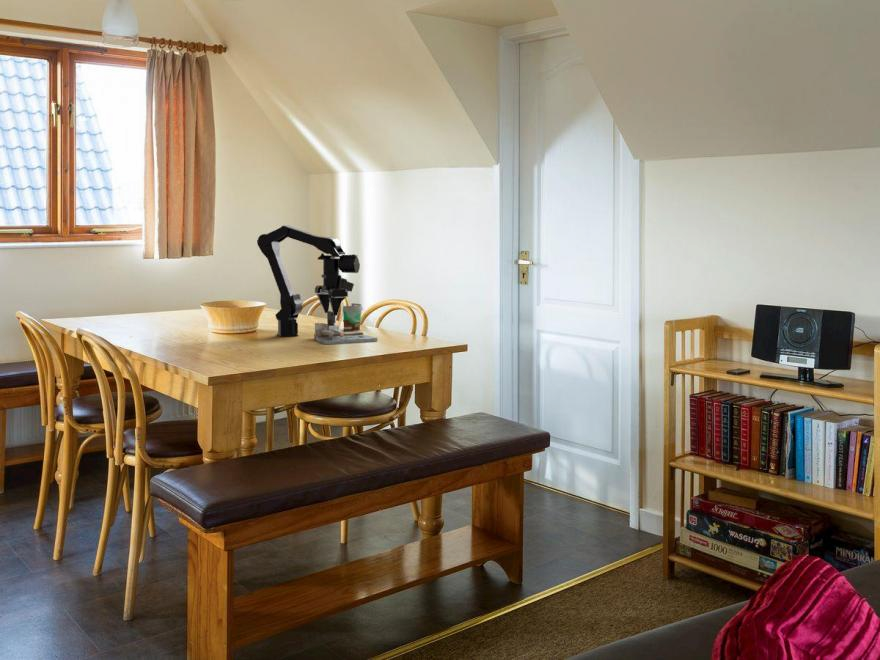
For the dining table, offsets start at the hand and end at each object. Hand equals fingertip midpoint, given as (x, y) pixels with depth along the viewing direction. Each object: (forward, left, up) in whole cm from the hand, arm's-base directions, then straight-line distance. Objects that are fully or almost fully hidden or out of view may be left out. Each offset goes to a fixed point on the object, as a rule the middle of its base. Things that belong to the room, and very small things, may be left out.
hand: (331, 314), depth 337 cm
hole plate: (+2, -10, -9) cm, 14 cm away
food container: (+17, +18, -9) cm, 26 cm away
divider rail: (+3, -4, -9) cm, 10 cm away
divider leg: (0, -4, -7) cm, 8 cm away
